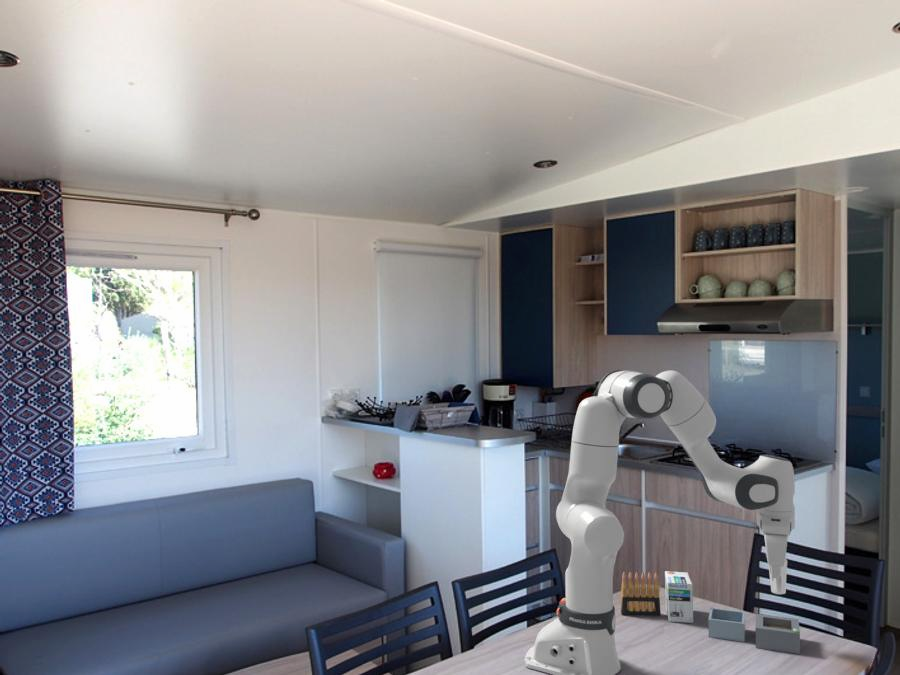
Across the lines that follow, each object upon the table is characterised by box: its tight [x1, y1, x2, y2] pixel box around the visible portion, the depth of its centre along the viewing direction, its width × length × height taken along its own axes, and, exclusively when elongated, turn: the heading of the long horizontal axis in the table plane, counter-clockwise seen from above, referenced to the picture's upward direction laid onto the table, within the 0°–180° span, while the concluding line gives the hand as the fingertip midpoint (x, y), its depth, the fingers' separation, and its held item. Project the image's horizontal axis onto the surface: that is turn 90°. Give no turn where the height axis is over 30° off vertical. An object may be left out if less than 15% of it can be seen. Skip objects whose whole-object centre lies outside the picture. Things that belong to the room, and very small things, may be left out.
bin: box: [707, 607, 746, 643], centre depth 192 cm, size 9×9×5 cm
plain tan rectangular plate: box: [764, 625, 790, 630], centre depth 185 cm, size 6×6×1 cm
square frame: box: [755, 613, 801, 655], centre depth 185 cm, size 10×10×6 cm
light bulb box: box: [664, 570, 694, 624], centre depth 204 cm, size 11×7×11 cm, turn 168°
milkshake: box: [763, 551, 788, 595], centre depth 185 cm, size 4×5×10 cm
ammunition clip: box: [620, 571, 662, 617], centre depth 205 cm, size 11×2×12 cm, turn 84°
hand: (775, 574), depth 185 cm, fingers closed on milkshake, 4 cm apart
